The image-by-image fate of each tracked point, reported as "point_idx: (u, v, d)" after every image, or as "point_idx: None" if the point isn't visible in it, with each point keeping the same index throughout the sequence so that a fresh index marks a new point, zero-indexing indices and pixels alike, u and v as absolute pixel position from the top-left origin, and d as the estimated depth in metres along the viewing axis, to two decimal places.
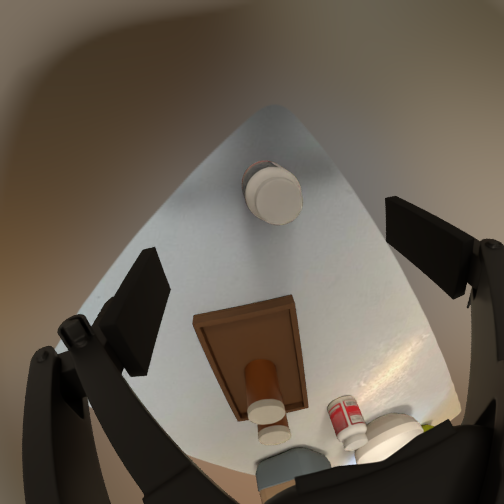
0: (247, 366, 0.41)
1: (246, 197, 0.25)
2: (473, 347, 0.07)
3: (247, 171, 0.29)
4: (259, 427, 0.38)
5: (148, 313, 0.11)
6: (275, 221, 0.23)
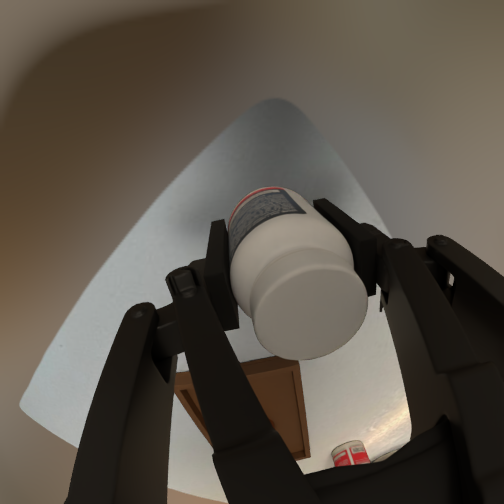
0: None
1: (232, 285, 0.11)
2: (399, 354, 0.08)
3: (237, 210, 0.15)
4: None
5: None
6: (299, 355, 0.09)
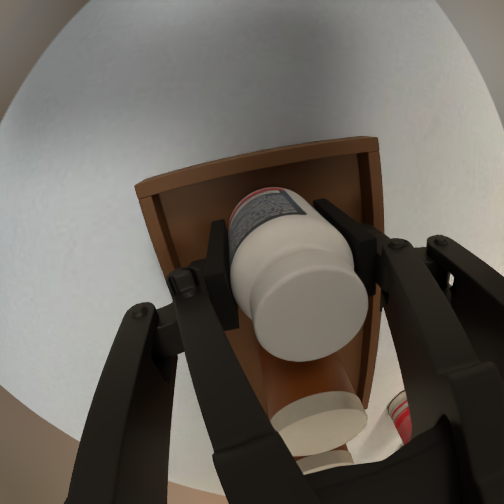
0: None
1: (232, 286, 0.11)
2: (399, 354, 0.08)
3: (238, 211, 0.15)
4: None
5: None
6: (299, 356, 0.09)
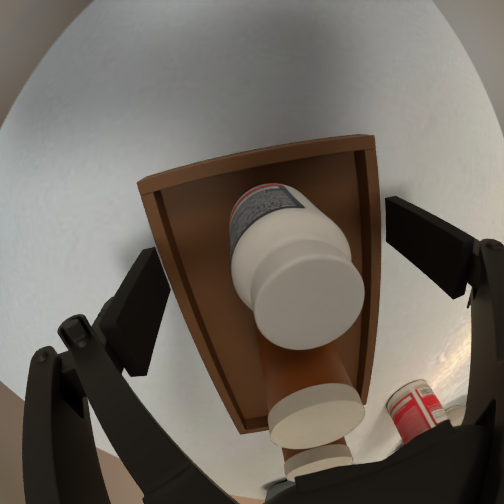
0: None
1: (233, 277, 0.12)
2: (473, 347, 0.07)
3: (238, 206, 0.15)
4: (287, 450, 0.17)
5: (148, 313, 0.11)
6: (298, 344, 0.10)
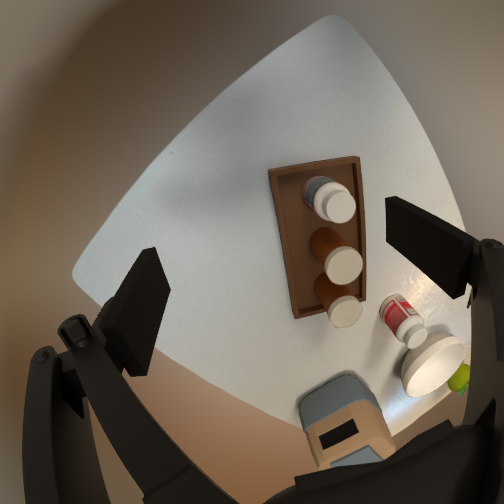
0: (314, 234, 0.43)
1: (315, 203, 0.35)
2: (473, 347, 0.07)
3: (309, 183, 0.38)
4: (329, 303, 0.40)
5: (148, 313, 0.11)
6: (337, 220, 0.33)
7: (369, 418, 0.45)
